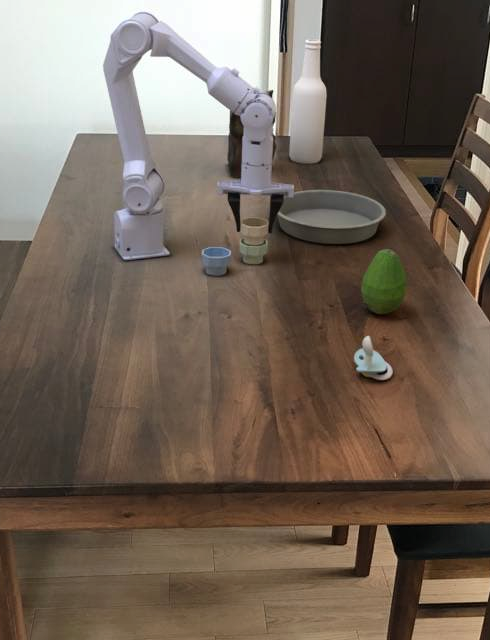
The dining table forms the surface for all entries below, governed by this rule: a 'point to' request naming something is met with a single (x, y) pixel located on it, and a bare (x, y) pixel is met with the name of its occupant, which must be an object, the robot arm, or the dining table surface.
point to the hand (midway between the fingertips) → (253, 230)
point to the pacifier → (371, 362)
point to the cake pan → (330, 216)
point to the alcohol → (308, 109)
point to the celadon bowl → (253, 252)
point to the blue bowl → (216, 260)
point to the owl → (239, 143)
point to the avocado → (384, 283)
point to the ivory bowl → (254, 230)
